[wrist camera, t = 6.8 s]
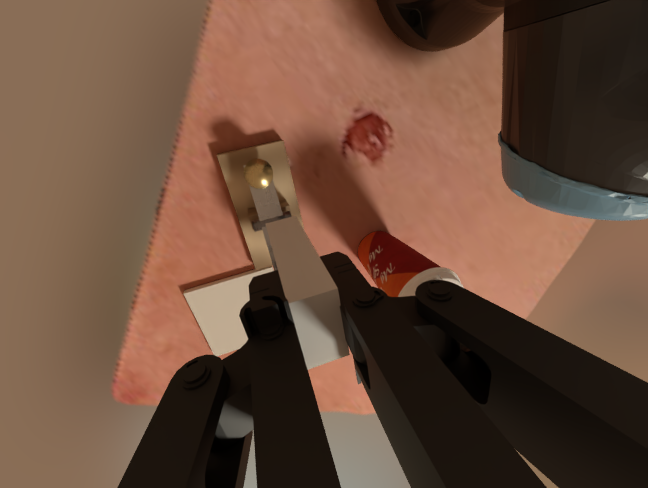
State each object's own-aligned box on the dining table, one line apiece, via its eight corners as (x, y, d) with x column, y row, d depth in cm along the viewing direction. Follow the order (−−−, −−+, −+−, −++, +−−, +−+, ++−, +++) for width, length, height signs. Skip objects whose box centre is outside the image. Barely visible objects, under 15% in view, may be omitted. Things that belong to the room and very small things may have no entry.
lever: (235, 167, 29) (233, 163, 27) (274, 158, 30) (274, 154, 28) (269, 280, 31) (269, 284, 29) (305, 269, 31) (307, 272, 30)
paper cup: (344, 236, 39) (394, 295, 26) (395, 214, 39) (467, 261, 27) (358, 281, 42) (408, 350, 30) (404, 260, 43) (472, 319, 31)
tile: (184, 290, 35) (183, 293, 35) (271, 264, 37) (272, 267, 37) (215, 352, 40) (215, 357, 40) (291, 327, 42) (292, 330, 42)
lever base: (217, 154, 30) (215, 159, 27) (281, 139, 31) (287, 142, 28) (255, 265, 37) (257, 280, 33) (307, 250, 38) (314, 263, 35)
